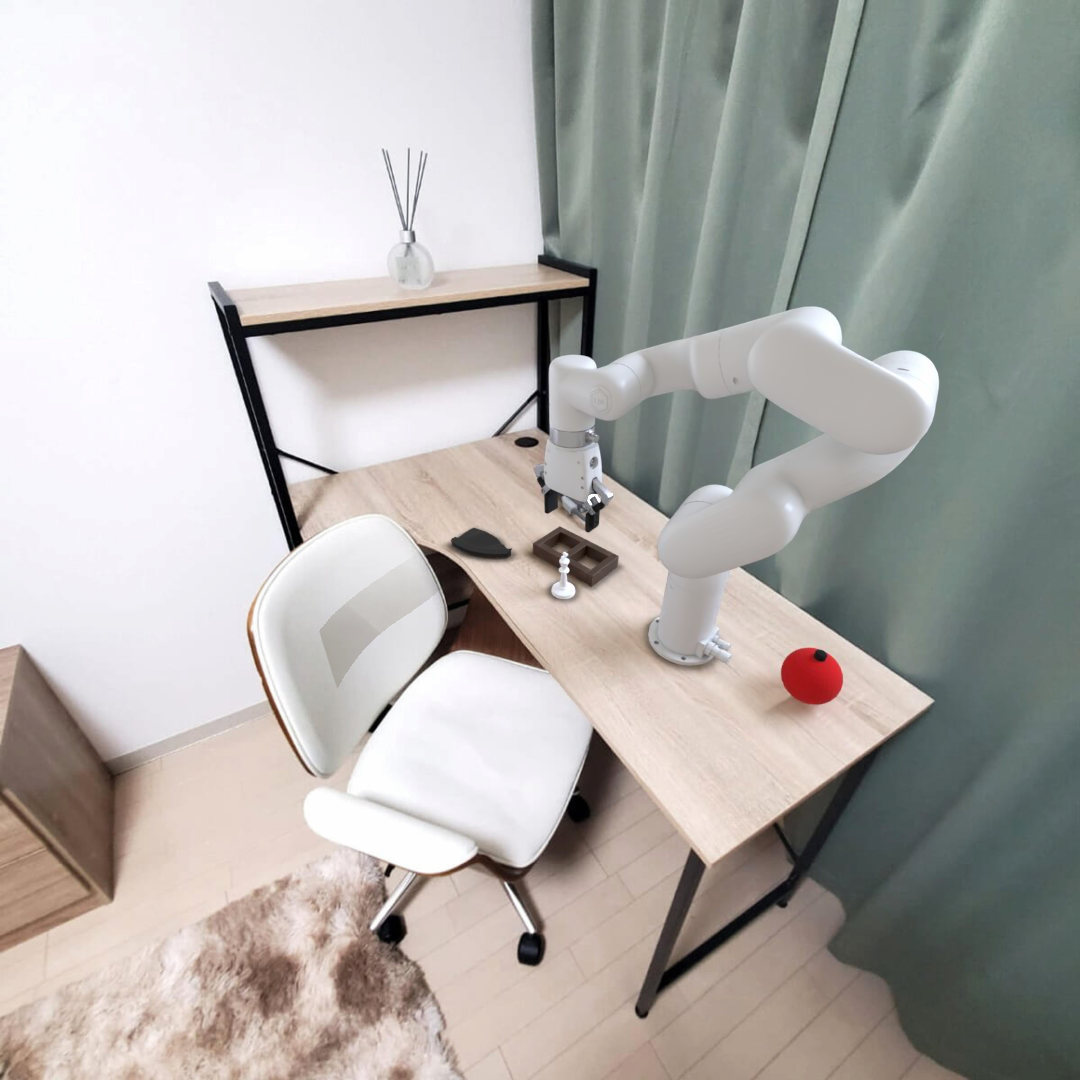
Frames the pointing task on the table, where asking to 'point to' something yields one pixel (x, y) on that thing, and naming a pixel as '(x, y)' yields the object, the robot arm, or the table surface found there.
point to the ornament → (811, 676)
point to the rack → (576, 555)
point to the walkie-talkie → (574, 505)
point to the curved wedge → (480, 544)
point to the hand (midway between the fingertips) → (570, 519)
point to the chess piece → (563, 581)
